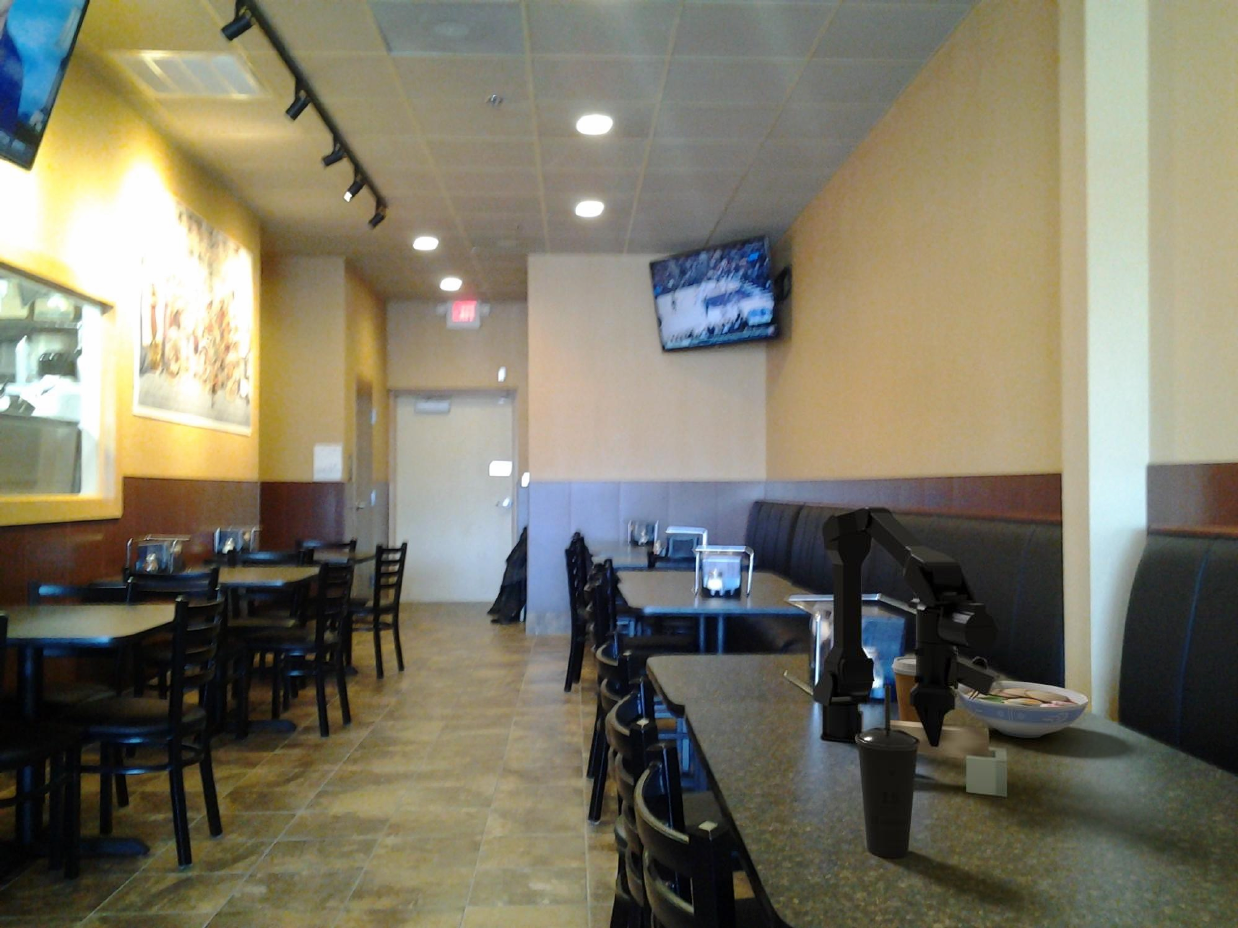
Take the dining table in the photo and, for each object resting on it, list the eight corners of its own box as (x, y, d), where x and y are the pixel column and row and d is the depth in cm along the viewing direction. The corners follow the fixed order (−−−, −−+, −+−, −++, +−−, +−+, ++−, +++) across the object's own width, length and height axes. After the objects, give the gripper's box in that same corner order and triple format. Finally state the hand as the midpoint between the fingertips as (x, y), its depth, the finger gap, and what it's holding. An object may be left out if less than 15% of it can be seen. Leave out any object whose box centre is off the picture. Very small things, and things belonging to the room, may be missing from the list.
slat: (884, 750, 144) (884, 723, 144) (884, 745, 147) (885, 719, 147) (988, 760, 139) (988, 733, 139) (987, 754, 142) (987, 728, 142)
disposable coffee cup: (947, 731, 173) (947, 666, 173) (893, 728, 174) (893, 663, 175) (940, 719, 182) (940, 657, 182) (889, 716, 184) (889, 655, 184)
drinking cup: (846, 839, 118) (847, 680, 119) (905, 838, 119) (905, 679, 119) (867, 863, 110) (868, 692, 111) (930, 862, 111) (930, 692, 112)
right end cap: (1005, 781, 143) (1005, 748, 143) (1006, 796, 136) (1006, 761, 136) (967, 777, 145) (967, 744, 145) (966, 791, 138) (966, 757, 138)
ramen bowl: (1081, 758, 156) (1081, 709, 156) (940, 738, 168) (940, 692, 168) (1096, 727, 177) (1096, 684, 177) (969, 711, 189) (969, 670, 189)
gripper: (992, 654, 132) (992, 766, 131) (992, 636, 149) (991, 734, 149) (909, 648, 136) (909, 757, 136) (918, 631, 153) (918, 727, 153)
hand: (935, 743), depth 143 cm, fingers closed on slat, 3 cm apart
